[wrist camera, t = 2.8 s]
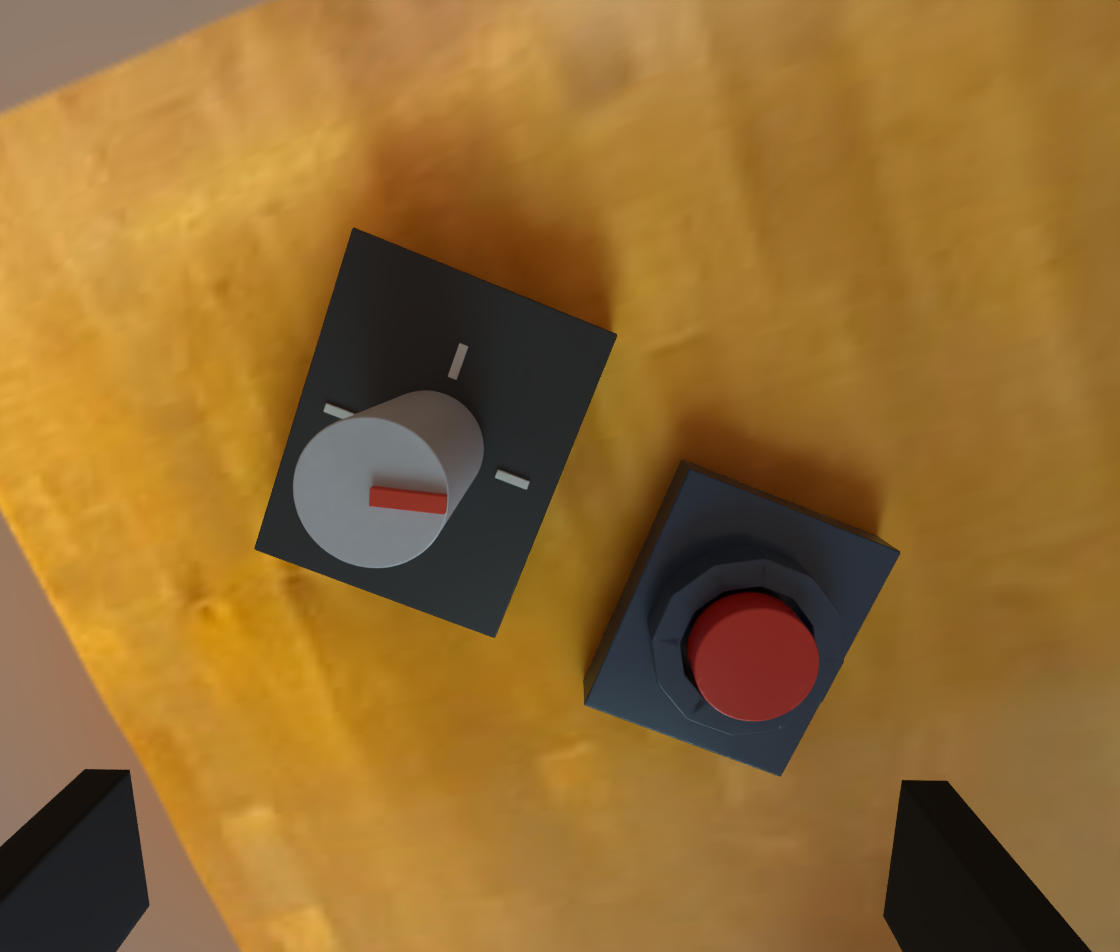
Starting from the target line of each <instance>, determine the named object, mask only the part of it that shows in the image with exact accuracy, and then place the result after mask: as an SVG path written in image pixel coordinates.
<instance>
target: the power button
mask: <svg viewBox="0 0 1120 952" xmlns="http://www.w3.org/2000/svg"><path fill="white" fill-rule="evenodd" d="M687 654H688V660H689V663H690V666H691V669H692V672H693V675H694V678H695V681H696V683H697V686H698V689H699V690H700V692H701V694H702V696H703V697H704V698H705V700H706V701H707V702H708V703H709V704H710V705H711V706H712V707H713V708H715V709H716V710H717V711H719V712H721V713H722V714H724V715H726V716H729V717H731V718H734V719H738V720H743V721H765V720H770V719H773V718H777V717H779V716H781V715H784V714H786V713H787V712H789V711H791V710H792V709H794V708H795V707H796V706H798V705H799V704H800V703H801V702H802V701H803V700H804V699H805V698H806V696H807V695H808V694H809V692H810V691H811V689H812V688H813V685H814V683H815V681H816V678H817V675H818V669H819V653H818V648H817V645H816V642H815V640H814V638H813V636H812V634H811V633H810V631H809V630H808V628H807V627H806V626H805V625H804V623H803V622H802V621H801V620H800V618H799V617H798V616H797V614H796V613H795V612H794V611H793V610H792V609H791V608H790V607H789V606H788V605H787V604H786V603H784V602H783V601H781V600H780V599H778V598H775V597H773V596H771V595H768V594H764V593H759V592H740V593H735V594H731V595H728V596H725V597H723V598H721V599H718V600H717V601H715V602H714V603H712V604H711V605H709V606H708V607H707V608H706V609H705V610H704V611H703V612H702V613H701V614H700V615H699V617H698V618H697V619H696V621H695V623H694V624H693V626H692V629H691V631H690V634H689V638H688V645H687Z"/></svg>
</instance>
